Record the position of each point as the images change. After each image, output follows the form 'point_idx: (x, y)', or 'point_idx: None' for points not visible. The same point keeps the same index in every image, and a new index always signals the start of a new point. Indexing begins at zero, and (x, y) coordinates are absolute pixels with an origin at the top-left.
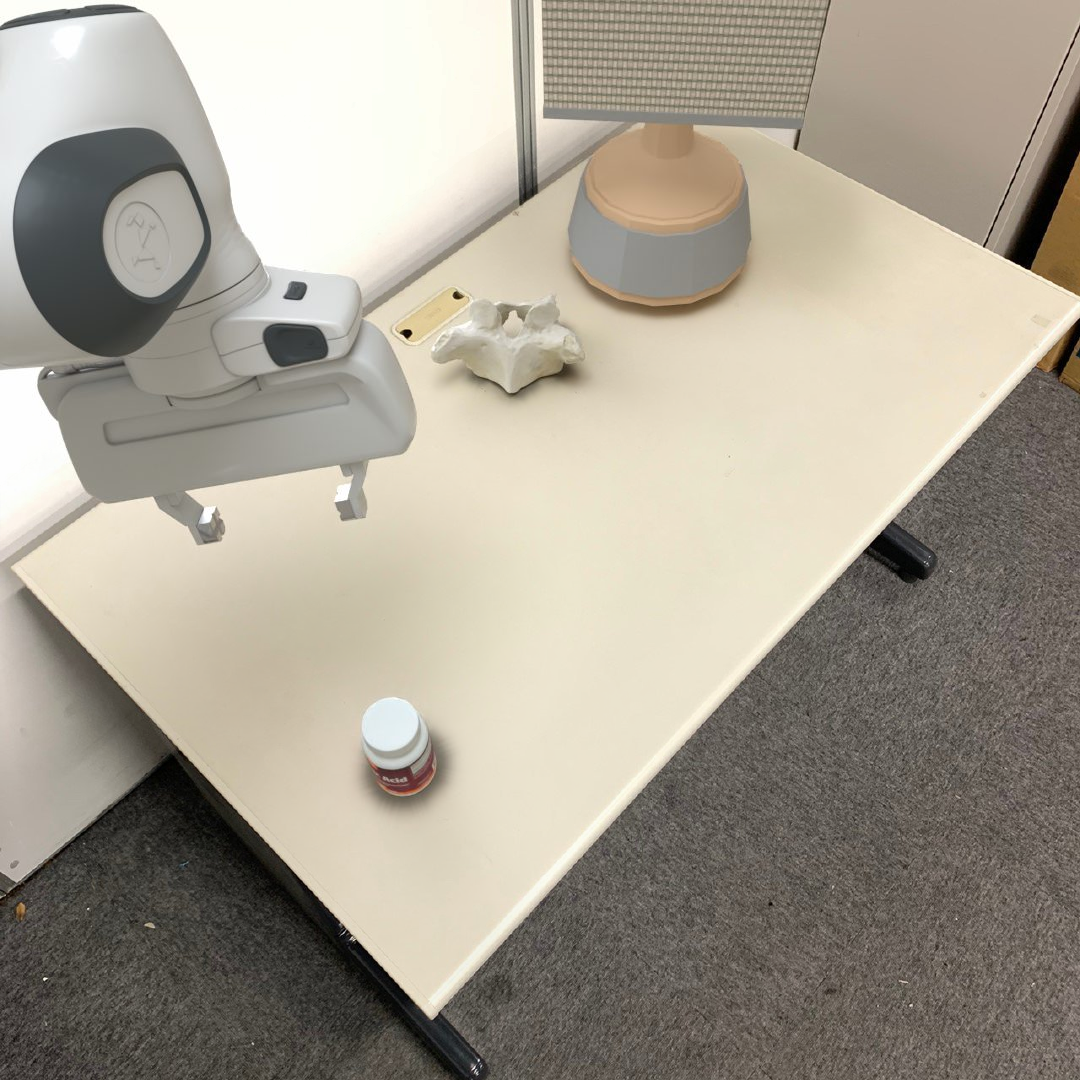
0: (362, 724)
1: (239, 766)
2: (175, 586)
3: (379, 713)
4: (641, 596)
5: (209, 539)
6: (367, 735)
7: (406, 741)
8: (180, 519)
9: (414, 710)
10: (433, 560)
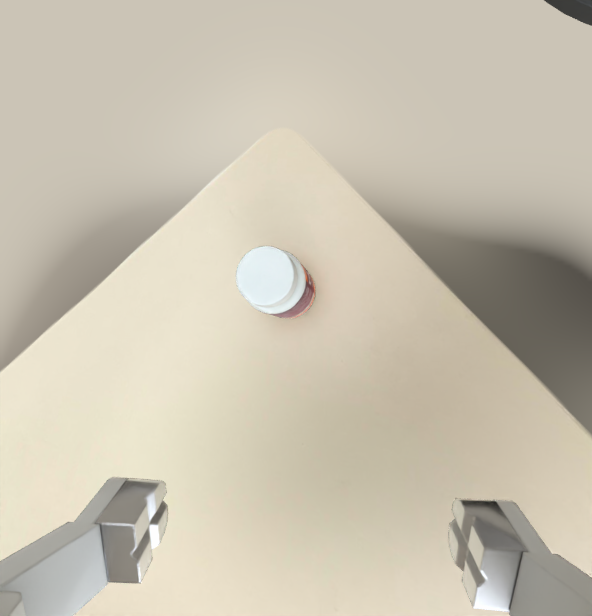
0: (291, 276)
1: (440, 310)
2: None
3: (274, 287)
4: (81, 424)
5: (482, 506)
6: (287, 264)
7: (248, 254)
8: (581, 579)
9: (238, 286)
10: (251, 504)
